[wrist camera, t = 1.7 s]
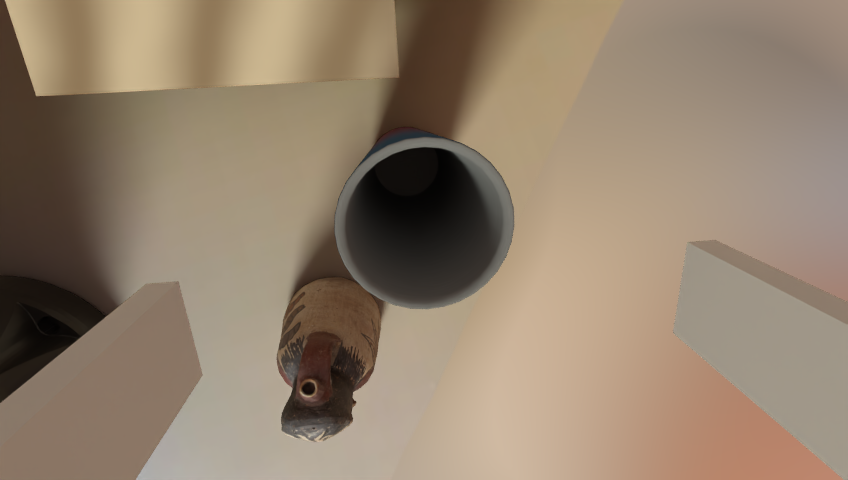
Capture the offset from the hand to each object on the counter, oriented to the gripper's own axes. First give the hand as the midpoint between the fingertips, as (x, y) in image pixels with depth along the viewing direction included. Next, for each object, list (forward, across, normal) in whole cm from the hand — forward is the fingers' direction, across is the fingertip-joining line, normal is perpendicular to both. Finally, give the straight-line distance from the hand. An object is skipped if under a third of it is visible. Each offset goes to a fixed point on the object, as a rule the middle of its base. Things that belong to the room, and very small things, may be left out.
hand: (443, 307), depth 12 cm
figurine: (+21, -6, -11) cm, 24 cm away
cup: (+21, 0, 0) cm, 21 cm away
